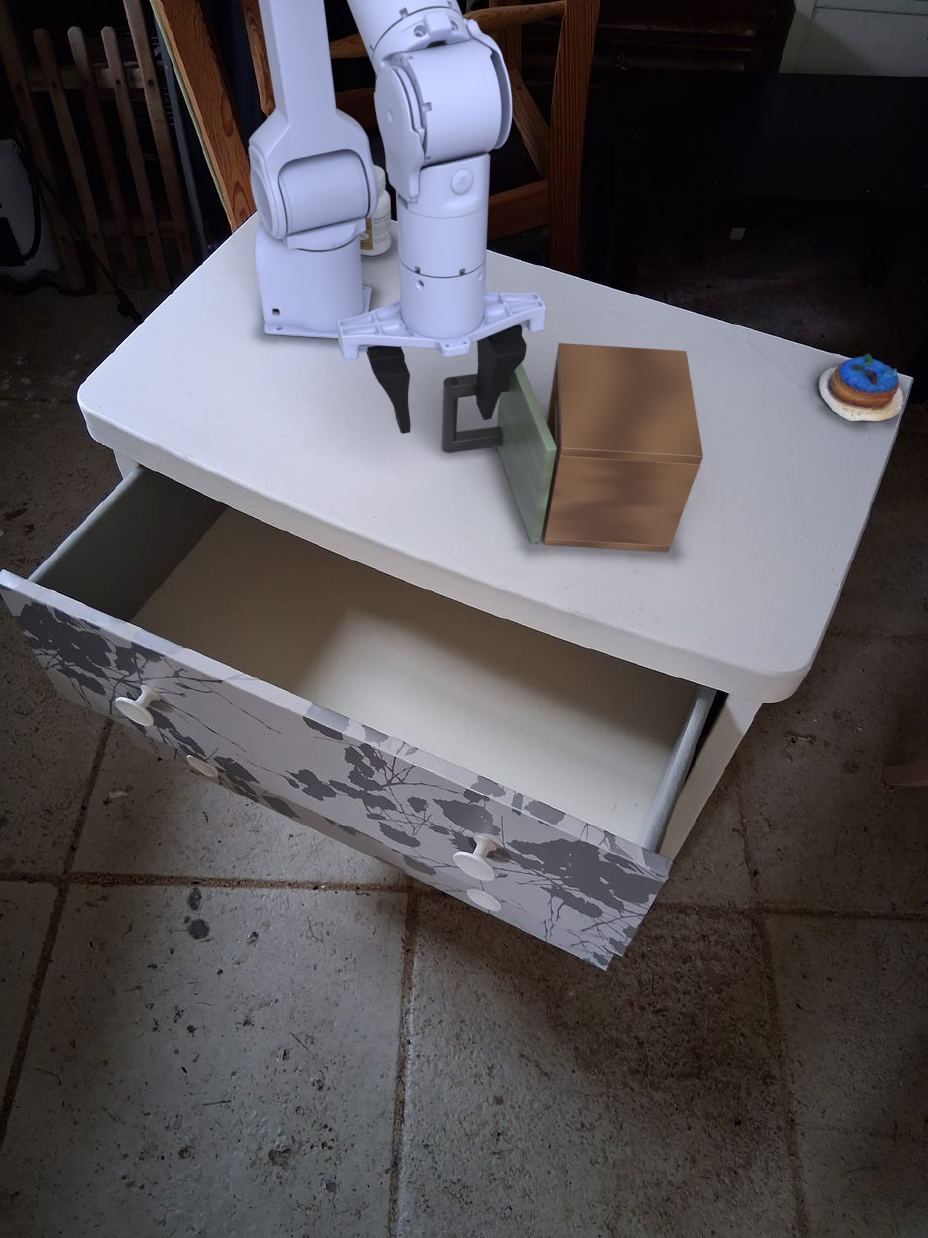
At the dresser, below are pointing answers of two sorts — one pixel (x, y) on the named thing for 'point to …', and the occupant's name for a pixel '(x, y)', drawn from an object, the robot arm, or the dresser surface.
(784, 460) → the dresser surface
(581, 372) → the cupboard
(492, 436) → the door
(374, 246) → the pill bottle
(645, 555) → the dresser surface
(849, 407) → the dessert
